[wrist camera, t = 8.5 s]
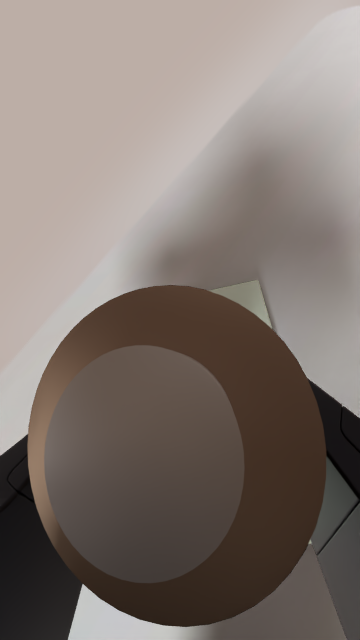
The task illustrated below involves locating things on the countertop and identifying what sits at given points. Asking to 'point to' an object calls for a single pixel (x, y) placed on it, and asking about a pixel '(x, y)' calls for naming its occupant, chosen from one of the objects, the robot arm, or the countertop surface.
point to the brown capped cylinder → (177, 455)
